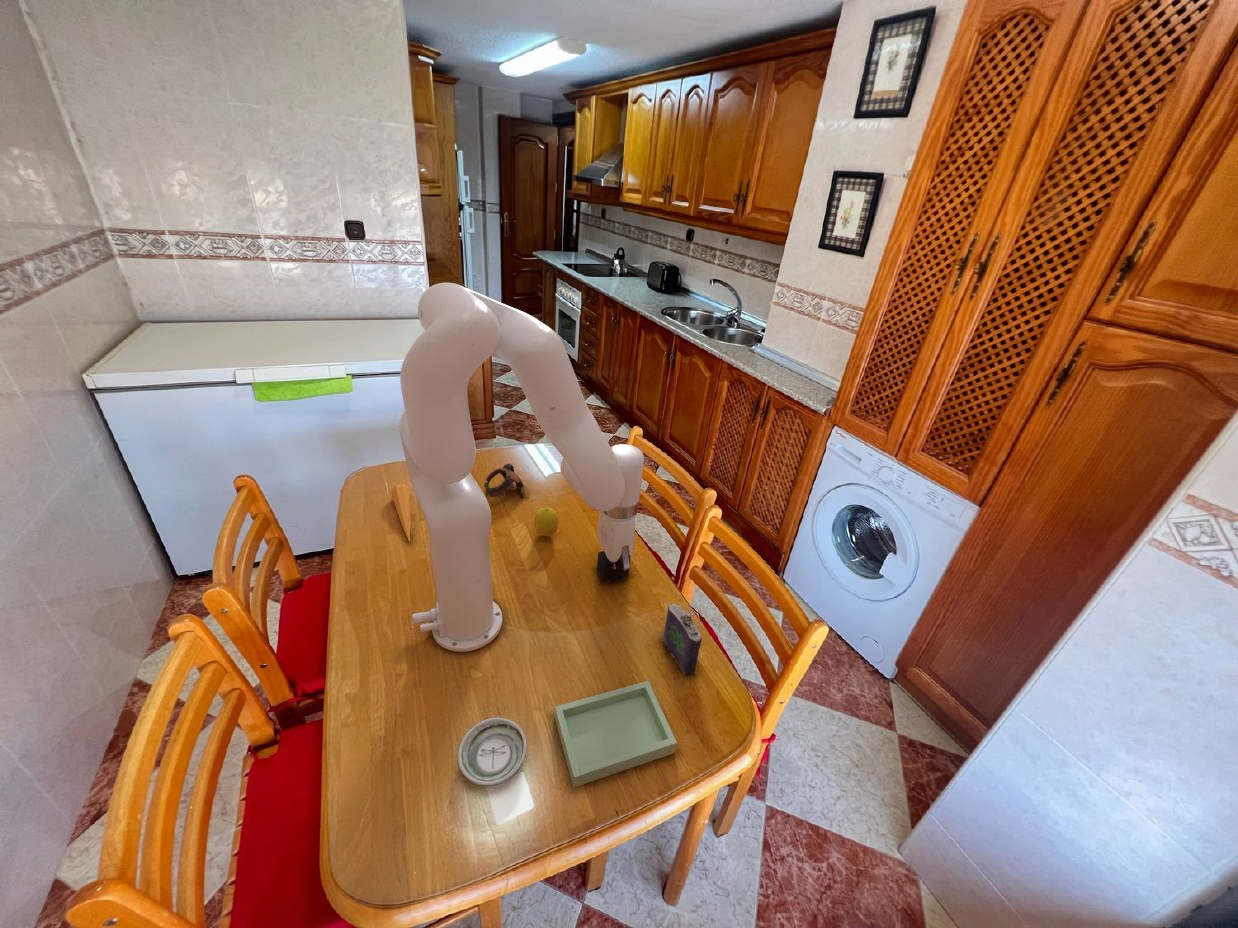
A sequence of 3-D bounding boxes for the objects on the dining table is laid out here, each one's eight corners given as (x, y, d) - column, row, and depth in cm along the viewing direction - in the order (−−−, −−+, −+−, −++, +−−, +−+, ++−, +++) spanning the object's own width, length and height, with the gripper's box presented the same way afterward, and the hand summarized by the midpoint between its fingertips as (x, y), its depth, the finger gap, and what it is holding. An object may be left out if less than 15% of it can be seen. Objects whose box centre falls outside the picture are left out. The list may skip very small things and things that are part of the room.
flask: (659, 638, 94) (667, 597, 88) (672, 633, 95) (680, 593, 90) (685, 678, 87) (695, 636, 81) (699, 672, 88) (710, 631, 83)
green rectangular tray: (573, 787, 70) (574, 777, 69) (554, 717, 79) (554, 706, 77) (674, 753, 75) (677, 742, 74) (646, 690, 84) (648, 680, 83)
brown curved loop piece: (527, 505, 127) (511, 486, 122) (495, 515, 129) (477, 497, 124) (529, 471, 136) (514, 451, 130) (498, 481, 138) (482, 462, 132)
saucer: (464, 804, 67) (463, 795, 66) (454, 738, 74) (453, 729, 73) (534, 778, 71) (534, 768, 69) (518, 717, 78) (517, 708, 77)
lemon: (553, 545, 114) (554, 517, 110) (530, 540, 115) (530, 512, 111) (560, 530, 119) (561, 503, 115) (538, 526, 120) (539, 499, 116)
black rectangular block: (602, 581, 105) (604, 564, 103) (596, 569, 109) (598, 551, 106) (628, 576, 108) (630, 559, 105) (622, 564, 111) (624, 547, 108)
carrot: (396, 497, 126) (386, 486, 123) (412, 489, 126) (403, 478, 123) (405, 553, 112) (394, 541, 108) (424, 543, 112) (413, 531, 109)
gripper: (589, 483, 104) (584, 550, 113) (616, 532, 91) (608, 603, 100) (622, 479, 107) (615, 545, 116) (653, 526, 93) (643, 596, 103)
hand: (612, 571), depth 108 cm, fingers closed on black rectangular block, 4 cm apart
